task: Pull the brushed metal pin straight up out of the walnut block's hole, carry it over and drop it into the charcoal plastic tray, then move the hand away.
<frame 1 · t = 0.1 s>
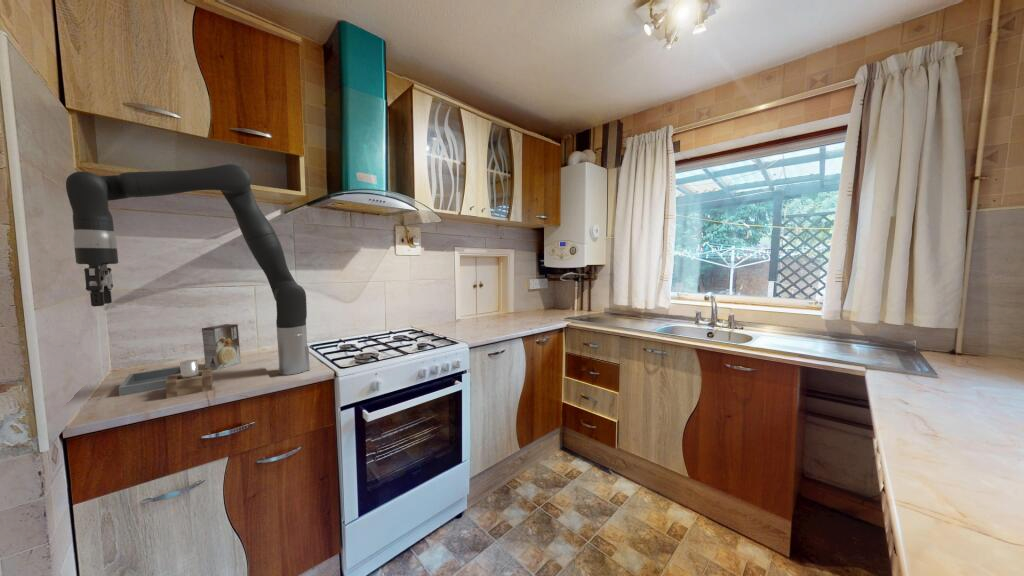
hand: (102, 304, 95), 29 cm above the countertop, tool pointing down, fingers open, 8 cm apart
tray: (157, 385, 112), on the countertop
coffee box: (223, 366, 134), on the countertop
pin block: (191, 392, 106), on the countertop
pin: (191, 389, 106), point 1 cm above the countertop, touching pin block
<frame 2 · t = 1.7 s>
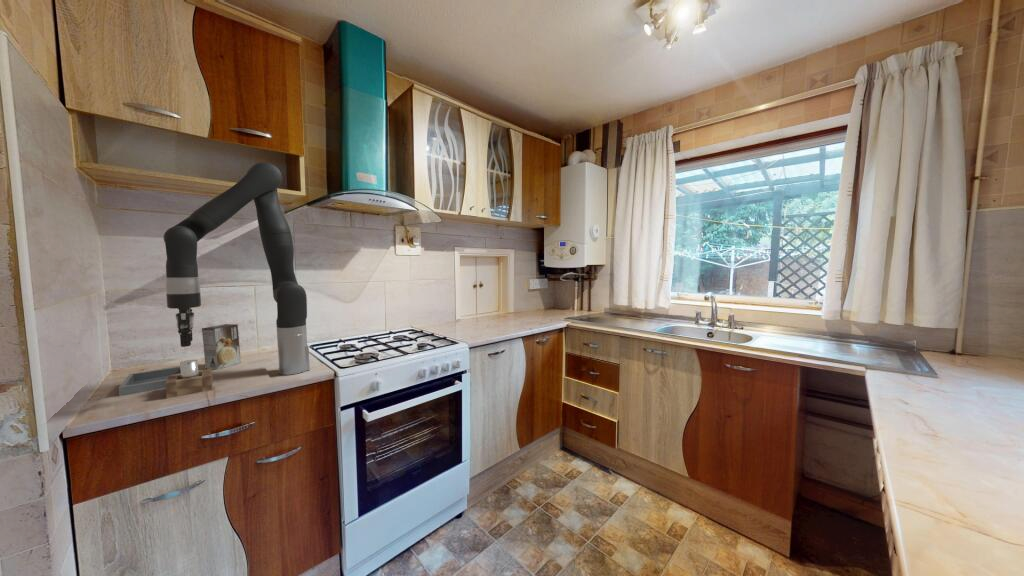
hand: (186, 343, 105), 16 cm above the countertop, tool pointing down, fingers open, 8 cm apart
nothing on the countertop moved.
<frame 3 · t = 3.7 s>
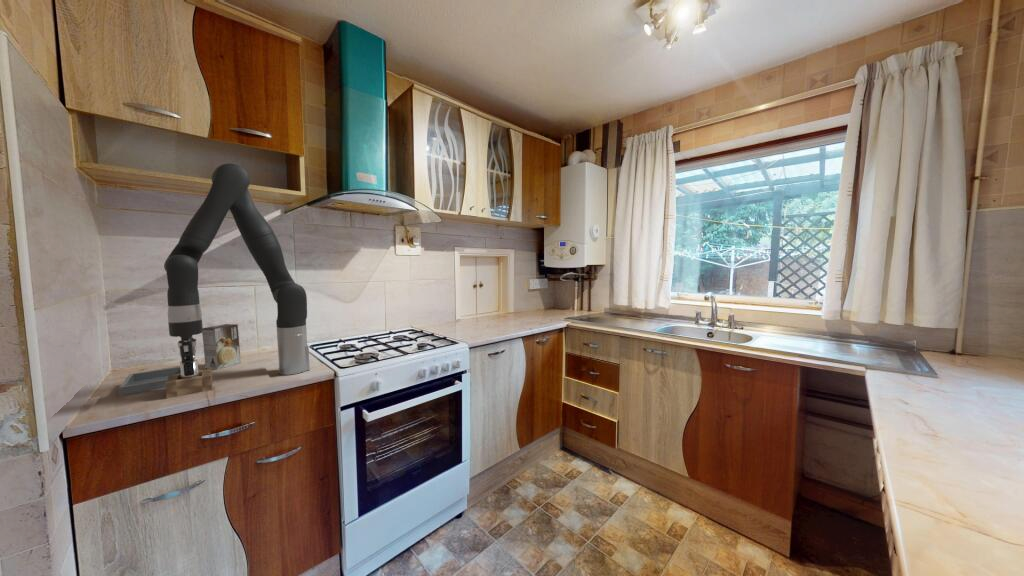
hand: (189, 373, 106), 6 cm above the countertop, tool pointing down, fingers closed on pin, 4 cm apart
pin: (191, 389, 106), point 1 cm above the countertop, touching gripper, pin block
everything else where it was.
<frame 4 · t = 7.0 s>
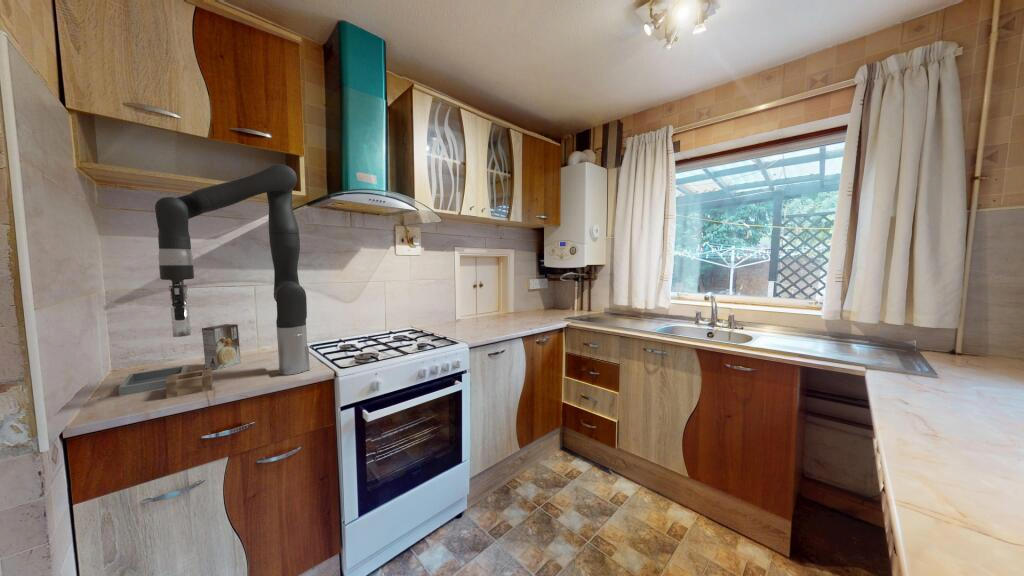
hand: (180, 318, 105), 23 cm above the countertop, tool pointing down, fingers closed on pin, 4 cm apart
pin: (181, 335, 105), point 18 cm above the countertop, touching gripper
everything else where it was.
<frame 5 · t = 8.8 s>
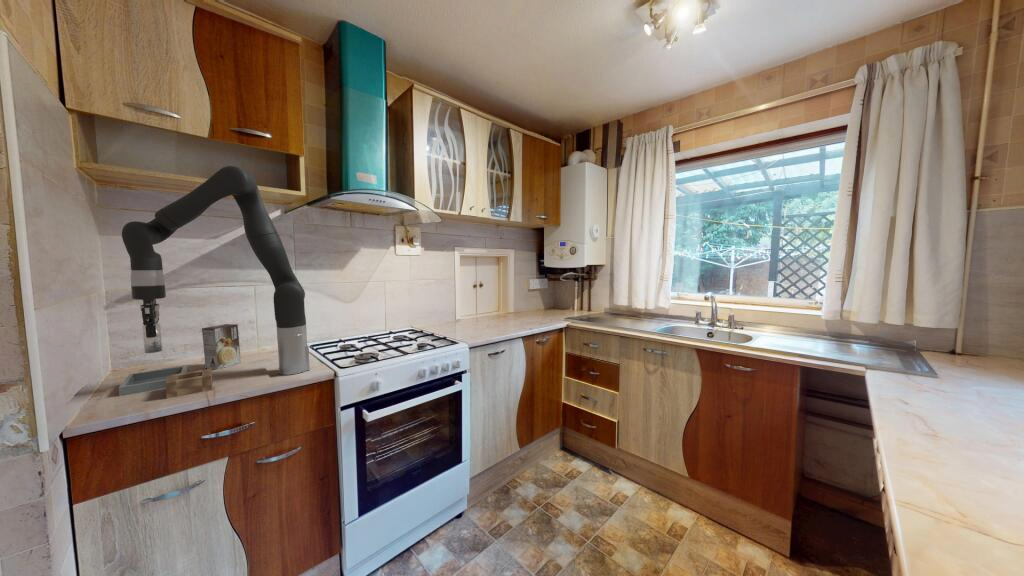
hand: (152, 335, 111), 17 cm above the countertop, tool pointing down, fingers closed on pin, 4 cm apart
pin: (153, 351, 111), point 12 cm above the countertop, touching gripper
everything else where it was.
when the fingers open (9 cm above the countertop, at t = 10.4 s): pin drops 3 cm, resting on tray.
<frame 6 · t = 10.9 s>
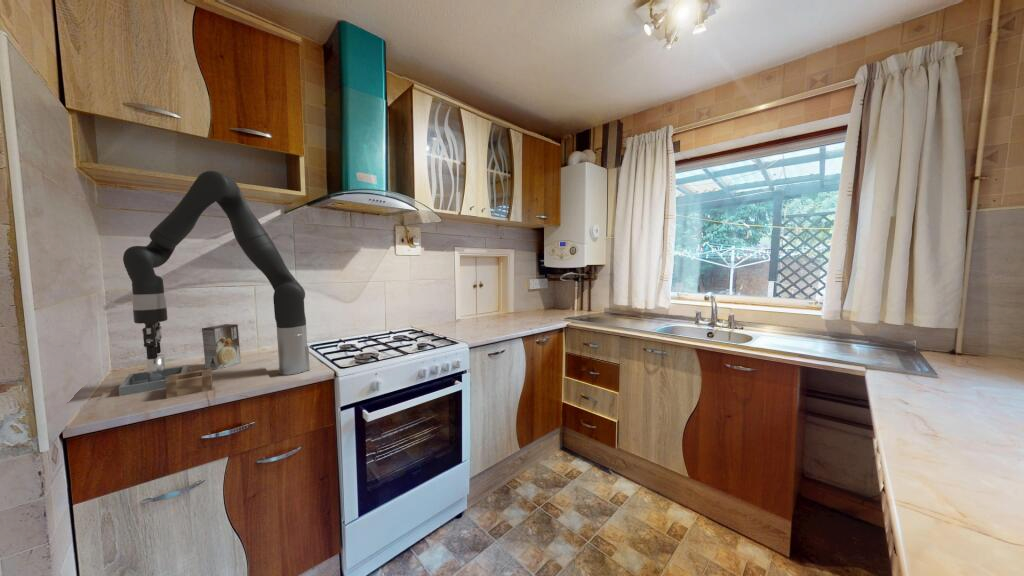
hand: (154, 356, 112), 10 cm above the countertop, tool pointing down, fingers open, 8 cm apart
pin: (157, 382, 113), point 1 cm above the countertop, touching tray
everything else where it was.
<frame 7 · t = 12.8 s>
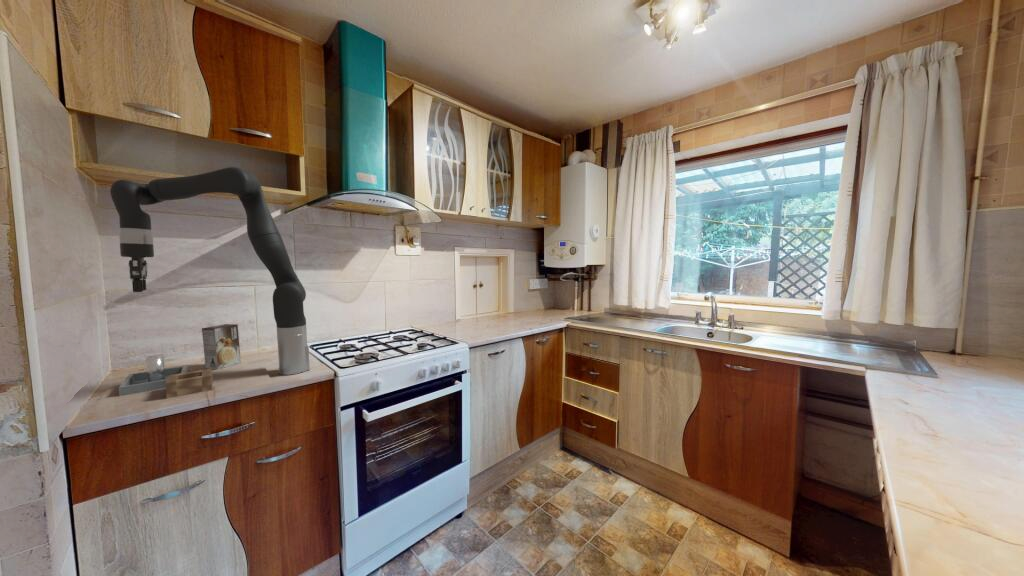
hand: (139, 291, 114), 31 cm above the countertop, tool pointing down, fingers open, 8 cm apart
nothing on the countertop moved.
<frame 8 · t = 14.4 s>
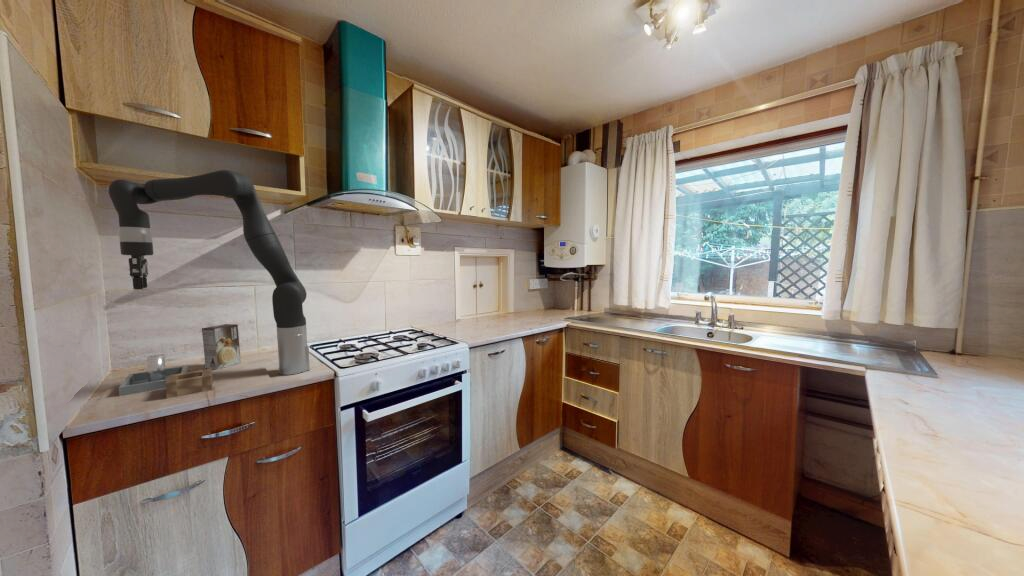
hand: (140, 288, 116), 32 cm above the countertop, tool pointing down, fingers open, 8 cm apart
nothing on the countertop moved.
at the end: pin inside the target area on the tray (0.3 cm from its centre), point 1.1 cm above the tray's base; the gripper is holding nothing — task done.
